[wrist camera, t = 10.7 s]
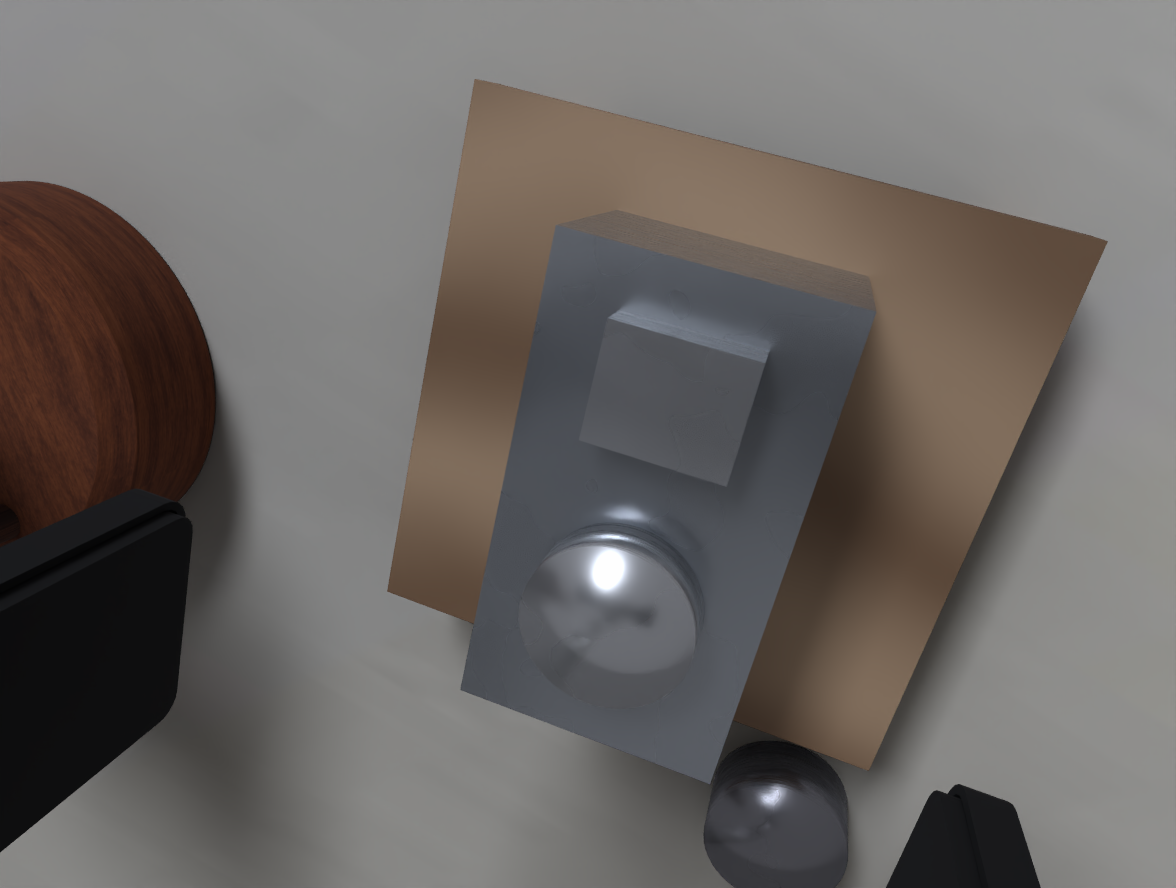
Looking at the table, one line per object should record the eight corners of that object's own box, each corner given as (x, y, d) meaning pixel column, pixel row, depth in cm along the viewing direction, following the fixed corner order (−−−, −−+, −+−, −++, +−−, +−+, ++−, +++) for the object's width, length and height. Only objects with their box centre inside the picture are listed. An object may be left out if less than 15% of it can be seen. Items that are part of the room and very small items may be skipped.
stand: (865, 694, 22) (868, 770, 20) (438, 541, 24) (387, 591, 22) (1066, 228, 18) (1107, 241, 15) (525, 89, 20) (474, 79, 17)
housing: (868, 276, 16) (879, 323, 12) (734, 666, 20) (702, 822, 15) (616, 209, 17) (534, 230, 13) (528, 593, 21) (438, 720, 16)
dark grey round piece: (821, 867, 24) (819, 925, 23) (698, 817, 25) (686, 870, 23) (866, 768, 23) (868, 821, 21) (735, 719, 24) (726, 766, 22)
